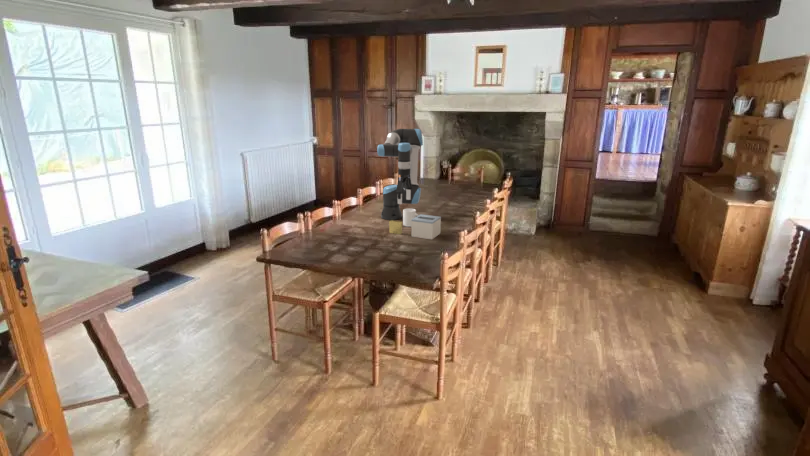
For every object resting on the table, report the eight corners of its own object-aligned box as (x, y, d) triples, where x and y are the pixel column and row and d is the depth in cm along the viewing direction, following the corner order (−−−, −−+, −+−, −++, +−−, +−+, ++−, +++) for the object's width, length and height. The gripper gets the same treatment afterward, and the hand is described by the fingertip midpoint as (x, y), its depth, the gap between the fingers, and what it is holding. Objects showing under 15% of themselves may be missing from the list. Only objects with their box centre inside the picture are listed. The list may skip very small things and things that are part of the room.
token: (389, 232, 277) (389, 220, 274) (391, 231, 279) (391, 219, 276) (400, 234, 273) (400, 222, 271) (402, 233, 276) (402, 221, 273)
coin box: (411, 236, 269) (411, 219, 266) (420, 230, 281) (420, 214, 278) (432, 239, 264) (432, 222, 260) (440, 233, 276) (440, 216, 273)
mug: (416, 228, 286) (416, 212, 283) (400, 225, 292) (400, 210, 288) (422, 225, 293) (422, 209, 290) (406, 222, 299) (406, 207, 296)
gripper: (401, 171, 255) (401, 206, 261) (417, 166, 277) (417, 198, 283) (390, 170, 258) (390, 205, 264) (406, 165, 280) (406, 197, 286)
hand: (404, 201), depth 273 cm, fingers open, 13 cm apart
